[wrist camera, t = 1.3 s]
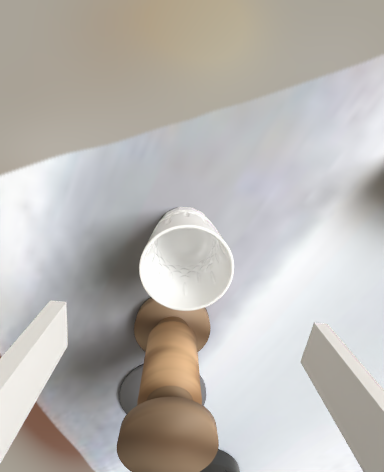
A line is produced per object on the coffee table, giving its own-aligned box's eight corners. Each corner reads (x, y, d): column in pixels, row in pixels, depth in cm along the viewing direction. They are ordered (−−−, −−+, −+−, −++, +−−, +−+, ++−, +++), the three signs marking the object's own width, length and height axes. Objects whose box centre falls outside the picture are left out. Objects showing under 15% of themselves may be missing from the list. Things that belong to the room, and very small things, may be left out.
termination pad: (199, 425, 41) (199, 429, 40) (118, 421, 39) (117, 425, 39) (211, 363, 37) (212, 366, 36) (122, 357, 35) (121, 360, 35)
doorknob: (203, 354, 36) (219, 488, 22) (133, 349, 35) (102, 486, 21) (214, 294, 33) (242, 405, 18) (138, 287, 32) (105, 398, 18)
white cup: (152, 262, 31) (140, 311, 22) (151, 200, 28) (137, 224, 19) (214, 263, 31) (230, 311, 22) (218, 202, 29) (238, 226, 19)
